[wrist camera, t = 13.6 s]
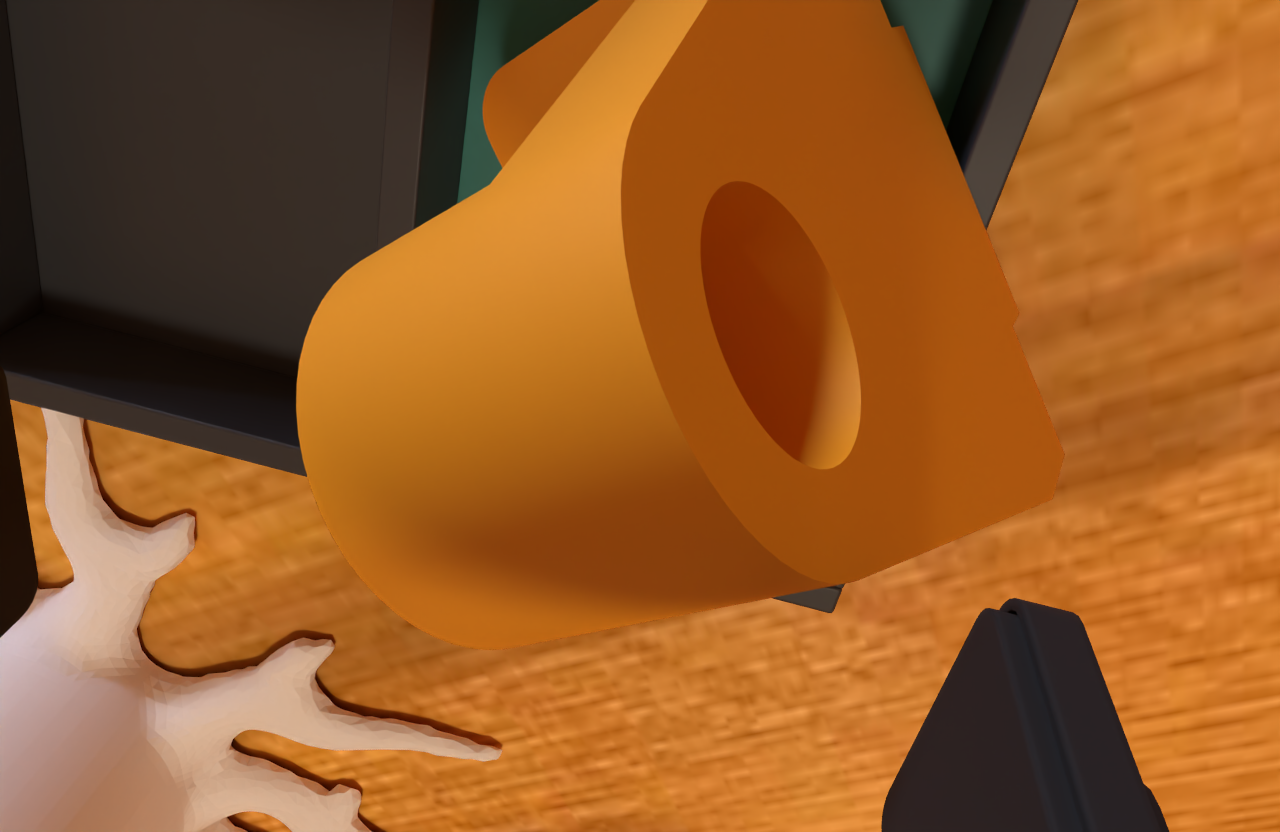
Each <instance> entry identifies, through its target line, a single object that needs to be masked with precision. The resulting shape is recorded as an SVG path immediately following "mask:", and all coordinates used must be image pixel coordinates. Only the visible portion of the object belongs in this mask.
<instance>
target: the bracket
mask: <svg viewBox="0 0 1280 832" xmlns="http://www.w3.org/2000/svg"><path fill="white" fill-rule="evenodd" d="M483 121H484V127H485V131H486V134H487V137H488V139H489V141H490V143H491V146H492V148H493V150H494V152H495V154H496V156H497V158H498V160H499V162H500V164H501V166H502V170H501V171H500V172H499V174H498V175H497V176H496V177H495V179H494V180H493V181H492V182H491V184H490V185H488V186H487V187H485V188H483V189H482V190H480V191H478V192H476V193H475V194H473V195H471V196H470V197H468V198H466V199H465V200H463V201H461V202H460V203H458V204H456V205H454V206H453V207H451V208H449V209H448V210H446V211H444V212H443V213H441V214H439V215H438V216H436V217H434V218H432V219H431V220H429V221H427V222H426V223H424V224H422V225H421V226H419V227H417V228H416V229H414V230H412V231H410V232H409V233H407V234H405V235H404V236H402V237H400V238H399V239H397V240H395V241H394V242H392V243H390V244H388V245H387V246H385V247H383V248H382V249H380V250H378V251H377V252H375V253H373V254H372V255H370V256H368V257H366V258H365V259H363V260H361V261H360V262H358V263H357V264H356V265H354V266H353V267H352V268H350V269H349V270H348V271H346V272H345V273H344V274H343V275H342V276H341V277H340V278H339V279H338V281H337V282H336V283H335V284H334V285H333V286H332V287H331V289H330V290H329V291H328V293H327V294H326V296H325V297H324V298H323V300H322V301H321V303H320V305H319V307H318V309H317V311H316V313H315V314H314V316H313V318H312V321H311V324H310V326H309V329H308V332H307V334H306V337H305V340H304V344H303V348H302V353H301V357H300V361H299V369H298V377H297V392H296V413H297V425H298V436H299V441H300V447H301V452H302V458H303V462H304V466H305V470H306V473H307V477H308V480H309V484H310V487H311V490H312V493H313V495H314V498H315V500H316V503H317V506H318V508H319V511H320V513H321V515H322V517H323V519H324V521H325V523H326V525H327V527H328V529H329V531H330V533H331V535H332V537H333V539H334V540H335V542H336V544H337V545H338V547H339V549H340V550H341V552H342V554H343V555H344V557H345V558H346V560H347V561H348V562H349V564H350V565H351V566H352V568H353V569H354V570H355V572H356V573H357V574H358V576H359V577H360V578H361V580H362V581H363V582H364V583H365V584H366V585H367V586H368V587H369V588H370V589H371V590H372V592H373V593H374V594H375V595H376V596H377V597H378V598H379V599H380V600H381V601H382V602H384V603H385V604H386V605H387V606H388V607H389V608H390V609H392V610H393V611H394V612H395V613H396V614H398V615H399V616H400V617H402V618H403V619H405V620H406V621H408V622H409V623H410V624H412V625H413V626H415V627H417V628H418V629H420V630H422V631H424V632H426V633H428V634H430V635H431V636H433V637H436V638H438V639H441V640H444V641H446V642H449V643H451V644H455V645H459V646H463V647H467V648H472V649H483V650H499V649H510V648H515V647H520V646H525V645H530V644H535V643H541V642H546V641H551V640H556V639H561V638H566V637H572V636H577V635H582V634H587V633H592V632H597V631H603V630H608V629H613V628H618V627H623V626H628V625H634V624H639V623H644V622H649V621H654V620H659V619H665V618H670V617H675V616H680V615H685V614H690V613H696V612H701V611H706V610H711V609H716V608H721V607H727V606H732V605H737V604H742V603H747V602H752V601H758V600H763V599H768V598H773V597H778V596H783V595H789V594H794V593H799V592H804V591H809V590H814V589H820V588H825V587H830V586H835V585H840V584H845V583H850V582H854V581H858V580H860V579H862V578H865V577H867V576H870V575H872V574H874V573H877V572H879V571H882V570H884V569H886V568H889V567H891V566H894V565H896V564H898V563H901V562H903V561H906V560H908V559H910V558H913V557H915V556H918V555H920V554H922V553H925V552H927V551H930V550H932V549H934V548H937V547H939V546H942V545H944V544H946V543H949V542H951V541H954V540H956V539H958V538H961V537H963V536H965V535H968V534H970V533H973V532H975V531H977V530H980V529H982V528H985V527H987V526H989V525H992V524H994V523H997V522H999V521H1001V520H1004V519H1006V518H1009V517H1011V516H1013V515H1016V514H1018V513H1021V512H1023V511H1025V510H1028V509H1030V508H1033V507H1035V506H1037V505H1040V504H1042V503H1045V502H1047V501H1049V500H1052V499H1053V496H1054V492H1055V488H1056V485H1057V481H1058V477H1059V474H1060V470H1061V466H1062V462H1063V459H1064V455H1065V454H1064V452H1063V449H1062V447H1061V444H1060V442H1059V439H1058V437H1057V435H1056V432H1055V430H1054V427H1053V425H1052V422H1051V420H1050V417H1049V415H1048V412H1047V410H1046V407H1045V405H1044V402H1043V400H1042V398H1041V395H1040V393H1039V390H1038V388H1037V385H1036V383H1035V380H1034V378H1033V375H1032V373H1031V370H1030V368H1029V366H1028V363H1027V361H1026V358H1025V356H1024V353H1023V351H1022V348H1021V346H1020V343H1019V341H1018V338H1017V336H1016V333H1015V331H1014V329H1013V325H1014V323H1015V321H1016V319H1017V317H1018V315H1019V311H1018V309H1017V306H1016V304H1015V301H1014V299H1013V296H1012V294H1011V291H1010V289H1009V286H1008V284H1007V281H1006V279H1005V276H1004V274H1003V271H1002V269H1001V266H1000V264H999V261H998V259H997V256H996V254H995V252H994V249H993V247H992V244H991V242H990V239H989V237H988V234H987V232H986V229H985V227H984V224H983V222H982V219H981V217H980V214H979V212H978V209H977V207H976V204H975V202H974V199H973V197H972V195H971V192H970V190H969V187H968V185H967V182H966V180H965V177H964V175H963V172H962V170H961V167H960V165H959V162H958V160H957V157H956V155H955V152H954V150H953V147H952V145H951V142H950V140H949V138H948V135H947V133H946V130H945V128H944V125H943V123H942V120H941V118H940V115H939V113H938V110H937V108H936V105H935V103H934V100H933V98H932V95H931V93H930V90H929V88H928V85H927V83H926V80H925V78H924V76H923V73H922V71H921V68H920V66H919V63H918V61H917V58H916V56H915V53H914V51H913V48H912V46H911V43H910V41H909V38H908V36H907V33H906V31H905V28H904V26H898V27H892V28H891V25H890V23H889V20H888V18H887V15H886V13H885V10H884V8H883V6H882V3H881V1H880V0H599V1H598V2H596V3H595V4H593V5H592V6H590V7H589V8H587V9H586V10H585V11H583V12H582V13H580V14H579V15H577V16H576V17H574V18H573V19H571V20H570V21H568V22H567V23H566V24H564V25H563V26H561V27H560V28H558V29H557V30H555V31H554V32H552V33H551V34H549V35H548V36H547V37H545V38H544V39H542V40H541V41H539V42H538V43H536V44H535V45H533V46H532V47H530V48H529V49H528V50H526V51H525V52H523V53H522V54H520V55H519V56H517V57H516V58H514V59H513V60H511V61H510V62H508V63H507V64H506V65H504V66H503V67H501V68H500V69H499V70H498V71H497V72H496V73H495V74H494V76H493V77H492V78H491V80H490V82H489V84H488V86H487V88H486V91H485V95H484V100H483Z"/></svg>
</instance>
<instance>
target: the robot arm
mask: <svg viewBox="0 0 1280 832" xmlns="http://www.w3.org/2000/svg"><path fill="white" fill-rule="evenodd" d="M37 587H38V572H37V566H36V560H35V553H34V547H33V541H32V535H31V528H30V522H29V516H28V510H27V504H26V497H25V491H24V485H23V479H22V472H21V466H20V460H19V454H18V447H17V441H16V435H15V429H14V423H13V416H12V410H11V404H10V398H9V391H8V385H7V379H6V375H5V372H4V370H3V368H2V367H1V366H0V638H1V637H2V636H3V635H4V634H5V633H6V632H7V631H8V630H9V629H10V628H11V627H12V626H13V625H14V624H15V623H16V622H17V621H18V620H19V619H20V618H21V617H22V616H23V615H24V614H25V613H26V611H27V610H28V609H29V607H30V605H31V604H32V602H33V600H34V597H35V595H36V592H37ZM882 832H1169V830H1168V827H1167V825H1166V822H1165V819H1164V817H1163V814H1162V812H1161V809H1160V807H1159V805H1158V803H1157V801H1156V799H1155V797H1154V795H1153V794H1152V792H1151V790H1150V789H1149V788H1148V787H1147V786H1146V785H1144V784H1143V782H1142V779H1141V776H1140V774H1139V771H1138V768H1137V766H1136V763H1135V760H1134V758H1133V755H1132V752H1131V750H1130V747H1129V744H1128V742H1127V739H1126V736H1125V734H1124V731H1123V728H1122V726H1121V723H1120V720H1119V718H1118V715H1117V712H1116V710H1115V707H1114V704H1113V702H1112V699H1111V696H1110V694H1109V691H1108V688H1107V686H1106V683H1105V681H1104V678H1103V675H1102V673H1101V670H1100V667H1099V665H1098V662H1097V659H1096V657H1095V654H1094V651H1093V649H1092V646H1091V643H1090V641H1089V638H1088V635H1087V633H1086V630H1085V627H1084V625H1083V623H1082V621H1081V619H1080V618H1079V616H1078V615H1076V614H1074V613H1073V612H1069V611H1065V610H1061V609H1057V608H1053V607H1049V606H1045V605H1041V604H1037V603H1033V602H1029V601H1025V600H1021V599H1017V598H1013V599H1009V600H1008V601H1007V602H1005V603H1004V604H1003V605H1002V607H1001V608H1000V610H995V609H991V608H987V609H984V610H983V611H982V612H981V613H980V615H979V616H978V618H977V619H976V621H975V623H974V625H973V627H972V629H971V631H970V633H969V635H968V637H967V639H966V641H965V643H964V645H963V647H962V649H961V651H960V653H959V655H958V657H957V659H956V661H955V662H954V664H953V666H952V668H951V670H950V672H949V674H948V676H947V678H946V680H945V682H944V684H943V686H942V688H941V690H940V692H939V694H938V696H937V698H936V700H935V702H934V704H933V706H932V708H931V710H930V712H929V713H928V715H927V717H926V719H925V721H924V723H923V725H922V727H921V729H920V731H919V733H918V735H917V737H916V739H915V741H914V743H913V745H912V747H911V749H910V751H909V753H908V755H907V757H906V759H905V761H904V763H903V764H902V766H901V768H900V770H899V772H898V774H897V776H896V778H895V780H894V782H893V784H892V786H891V788H890V790H889V792H888V795H887V797H886V801H885V804H884V809H883V815H882Z"/></svg>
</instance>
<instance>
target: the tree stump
mask: <svg viewBox="0 0 1280 832" xmlns="http://www.w3.org/2000/svg"><path fill="white" fill-rule="evenodd" d="M41 409H42V412H43V415H44V419H45V424H46V429H47V435H48V441H47V445H46V451H47V471H46V487H45V505H46V507H47V510H48V513H49V516H50V520H51V524H52V528H53V530H54V532H55V534H56V536H57V538H58V540H59V542H60V544H61V546H62V548H63V550H64V552H65V553H66V555H67V557H68V559H69V560H70V563H71V566H72V569H73V571H74V580H73V582H71V583H70V584H68V585H66V586H65V587H63V588H52V589H41V590H40V589H39V588H38V587H37V592H36V595H35V597H34V600H33V602H32V604H31V605H30V607H29V609H28V610H27V611H26V613H25V614H24V615H23V616H22V617H21V618H20V619H19V620H18V621H17V622H16V623H15V624H14V625H13V626H12V627H11V628H10V629H9V630H8V631H7V632H6V633H5V634H4V635H3V636H2V637H1V638H0V832H248V831H246V830H244V829H242V828H239V827H235V826H234V825H233V824H232V823H231V822H230V820H229V819H228V818H227V817H228V816H231V815H233V814H236V813H240V812H247V811H256V812H261V813H265V814H268V815H270V816H272V817H274V818H276V819H278V820H280V821H281V822H282V823H284V824H285V825H286V826H287V827H288V828H289V829H290V830H291V831H292V832H372V831H371V830H369V829H368V828H367V827H366V826H365V825H364V824H363V823H362V822H361V821H360V819H359V818H358V814H357V813H358V808H359V806H360V803H361V794H360V792H359V791H358V790H356V789H354V788H350V787H346V786H343V785H340V784H338V785H337V786H336V787H335V788H333V789H332V790H331V791H328V790H327V789H326V788H324V787H323V786H322V785H320V784H319V783H317V782H314V781H311V780H309V779H306V778H302V777H299V776H297V775H295V774H294V773H293V772H291V771H289V770H287V769H284V768H282V767H280V766H278V765H276V764H274V763H272V762H270V761H268V760H265V759H261V758H257V757H252V756H248V755H245V754H242V753H240V752H238V751H236V750H235V749H234V748H233V747H232V746H231V743H232V740H233V739H234V738H235V737H236V736H237V735H238V734H239V733H241V732H242V731H245V730H252V729H254V730H262V731H266V732H271V733H274V734H277V735H280V736H283V737H285V738H288V739H291V740H293V741H296V742H299V743H302V744H305V745H309V746H313V747H318V748H323V749H330V750H377V749H387V750H414V751H422V752H428V753H431V754H434V755H437V756H449V757H456V758H461V759H475V760H479V761H483V762H484V761H489V760H495V759H498V758H499V757H500V755H501V753H502V749H499V748H496V747H494V746H488V745H479V744H477V743H475V742H473V741H472V740H470V739H468V738H464V737H460V736H456V735H453V734H450V733H446V732H442V731H438V730H436V729H434V728H432V727H431V726H429V725H421V724H415V723H411V722H407V721H402V720H398V719H393V718H387V719H381V718H377V717H373V716H366V717H364V716H362V715H359V714H357V713H354V712H350V711H347V710H343V709H341V708H339V707H337V706H335V705H334V704H333V703H332V702H331V701H330V699H329V698H328V697H327V696H326V695H325V694H324V693H323V692H322V691H321V689H320V688H319V687H318V684H317V682H316V680H315V673H316V670H317V669H318V667H319V666H320V665H321V664H322V663H323V662H324V660H325V659H326V658H327V657H328V656H329V655H330V654H331V653H332V651H333V649H334V647H335V646H334V644H333V642H332V640H328V639H320V640H311V639H307V638H300V639H297V640H294V641H292V642H290V643H288V644H286V645H285V646H283V647H281V648H280V649H278V650H277V651H275V652H274V653H273V654H271V655H270V656H269V657H268V658H266V659H265V660H264V661H263V662H261V663H260V664H259V665H258V666H248V667H247V668H245V669H235V670H231V671H228V672H225V673H212V674H207V675H205V676H203V677H183V676H180V675H178V674H175V673H171V672H168V671H166V670H164V669H162V668H160V667H158V666H157V665H155V664H154V663H153V662H152V661H151V660H149V659H148V657H147V656H146V655H145V653H144V652H143V651H142V649H141V646H140V642H139V638H138V633H137V627H138V624H139V622H140V620H141V618H142V615H143V610H144V608H145V606H146V603H147V601H148V599H149V597H150V591H151V590H152V588H153V587H154V585H155V581H156V580H157V579H158V578H159V577H161V576H162V575H164V574H166V573H167V572H169V571H171V570H173V569H174V568H175V567H176V566H177V565H178V564H180V563H181V562H182V561H183V560H184V559H185V558H186V556H187V555H188V554H189V553H190V552H191V551H192V550H193V548H194V547H195V542H194V527H195V517H194V516H192V515H190V514H188V513H184V514H181V515H179V516H176V517H174V518H171V519H169V520H166V521H164V522H161V523H160V524H158V525H157V526H155V527H153V528H151V527H143V526H139V525H136V524H133V523H130V522H127V521H124V520H121V519H119V518H118V517H117V516H116V515H115V514H114V512H113V511H112V510H111V509H110V508H109V506H108V505H107V504H106V503H105V502H104V500H103V499H102V496H101V494H100V491H99V488H98V484H97V479H96V476H95V473H94V471H93V468H92V465H91V463H90V460H89V447H88V444H87V441H86V438H85V434H84V430H83V424H84V418H80V417H76V416H72V415H68V414H64V413H61V412H57V411H53V410H49V409H45V408H41Z"/></svg>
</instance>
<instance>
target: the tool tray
mask: <svg viewBox="0 0 1280 832" xmlns="http://www.w3.org/2000/svg"><path fill="white" fill-rule="evenodd" d="M598 1H599V0H0V366H1V367H2V368H3V370H4V372H5V375H6V379H7V385H8V391H9V398H10V399H11V400H15V401H18V402H22V403H26V404H30V405H34V406H38V407H41V408H45V409H49V410H53V411H57V412H61V413H64V414H68V415H72V416H76V417H80V418H84V419H87V420H91V421H95V422H99V423H103V424H107V425H110V426H114V427H118V428H122V429H126V430H130V431H133V432H137V433H141V434H145V435H149V436H153V437H156V438H160V439H164V440H168V441H172V442H176V443H179V444H183V445H187V446H191V447H195V448H199V449H202V450H206V451H210V452H214V453H218V454H222V455H225V456H229V457H233V458H237V459H241V460H245V461H248V462H252V463H256V464H260V465H264V466H268V467H271V468H275V469H279V470H283V471H287V472H291V473H294V474H298V475H302V476H306V477H307V473H306V470H305V466H304V462H303V458H302V452H301V447H300V441H299V436H298V425H297V413H296V392H297V377H298V369H299V361H300V357H301V353H302V348H303V344H304V340H305V337H306V334H307V332H308V329H309V326H310V324H311V321H312V318H313V316H314V314H315V313H316V311H317V309H318V307H319V305H320V303H321V301H322V300H323V298H324V297H325V296H326V294H327V293H328V291H329V290H330V289H331V287H332V286H333V285H334V284H335V283H336V282H337V281H338V279H339V278H340V277H341V276H342V275H343V274H344V273H345V272H346V271H348V270H349V269H350V268H352V267H353V266H354V265H356V264H357V263H358V262H360V261H361V260H363V259H365V258H366V257H368V256H370V255H372V254H373V253H375V252H377V251H378V250H380V249H382V248H383V247H385V246H387V245H388V244H390V243H392V242H394V241H395V240H397V239H399V238H400V237H402V236H404V235H405V234H407V233H409V232H410V231H412V230H414V229H416V228H417V227H419V226H421V225H422V224H424V223H426V222H427V221H429V220H431V219H432V218H434V217H436V216H438V215H439V214H441V213H443V212H444V211H446V210H448V209H449V208H451V207H453V206H454V205H456V204H458V203H460V202H461V201H463V200H465V199H466V198H468V197H470V196H471V195H473V194H475V193H476V192H478V191H480V190H482V189H483V188H485V187H487V186H488V185H490V184H491V182H492V181H493V180H494V179H495V177H496V176H497V175H498V174H499V172H500V171H501V170H502V166H501V164H500V162H499V160H498V158H497V156H496V154H495V152H494V150H493V148H492V146H491V143H490V141H489V139H488V137H487V134H486V131H485V127H484V121H483V100H484V95H485V91H486V88H487V86H488V84H489V82H490V80H491V78H492V77H493V76H494V74H495V73H496V72H497V71H498V70H499V69H500V68H501V67H503V66H504V65H506V64H507V63H508V62H510V61H511V60H513V59H514V58H516V57H517V56H519V55H520V54H522V53H523V52H525V51H526V50H528V49H529V48H530V47H532V46H533V45H535V44H536V43H538V42H539V41H541V40H542V39H544V38H545V37H547V36H548V35H549V34H551V33H552V32H554V31H555V30H557V29H558V28H560V27H561V26H563V25H564V24H566V23H567V22H568V21H570V20H571V19H573V18H574V17H576V16H577V15H579V14H580V13H582V12H583V11H585V10H586V9H587V8H589V7H590V6H592V5H593V4H595V3H596V2H598ZM880 1H881V3H882V6H883V8H884V10H885V13H886V15H887V18H888V20H889V23H890V25H891V28H892V27H898V26H904V28H905V31H906V33H907V36H908V38H909V41H910V43H911V46H912V48H913V51H914V53H915V56H916V58H917V61H918V63H919V66H920V68H921V71H922V73H923V76H924V78H925V80H926V83H927V85H928V88H929V90H930V93H931V95H932V98H933V100H934V103H935V105H936V108H937V110H938V113H939V115H940V118H941V120H942V123H943V125H944V128H945V130H946V133H947V135H948V138H949V140H950V142H951V145H952V147H953V150H954V152H955V155H956V157H957V160H958V162H959V165H960V167H961V170H962V172H963V175H964V177H965V180H966V182H967V185H968V187H969V190H970V192H971V195H972V197H973V199H974V202H975V204H976V207H977V209H978V212H979V214H980V217H981V219H982V222H983V224H984V227H985V229H986V230H987V227H988V225H989V222H990V220H991V217H992V215H993V212H994V210H995V207H996V205H997V202H998V200H999V197H1000V195H1001V192H1002V190H1003V187H1004V185H1005V182H1006V180H1007V177H1008V175H1009V172H1010V170H1011V167H1012V165H1013V162H1014V160H1015V157H1016V155H1017V152H1018V150H1019V147H1020V145H1021V142H1022V140H1023V137H1024V135H1025V132H1026V130H1027V127H1028V125H1029V122H1030V120H1031V117H1032V115H1033V112H1034V110H1035V107H1036V105H1037V102H1038V100H1039V97H1040V95H1041V92H1042V90H1043V87H1044V85H1045V82H1046V80H1047V77H1048V75H1049V72H1050V70H1051V67H1052V65H1053V62H1054V60H1055V57H1056V55H1057V52H1058V50H1059V47H1060V45H1061V42H1062V40H1063V37H1064V35H1065V32H1066V30H1067V27H1068V25H1069V22H1070V20H1071V17H1072V15H1073V12H1074V10H1075V7H1076V5H1077V2H1078V0H880ZM844 585H845V584H840V585H835V586H830V587H825V588H820V589H814V590H809V591H804V592H799V593H794V594H789V595H783V596H778V597H773V599H777V600H781V601H785V602H789V603H793V604H796V605H800V606H804V607H808V608H812V609H816V610H819V611H823V612H827V613H832V612H833V611H834V609H835V606H836V604H837V601H838V599H839V596H840V594H841V591H842V588H843V587H844Z"/></svg>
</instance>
